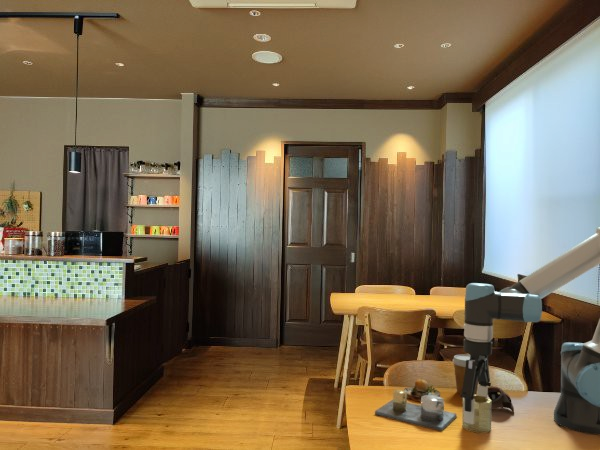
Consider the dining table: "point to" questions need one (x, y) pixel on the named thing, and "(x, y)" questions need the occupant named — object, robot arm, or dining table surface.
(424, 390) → the burger
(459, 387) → the disposable coffee cup
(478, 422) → the sleeve
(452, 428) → the dining table surface
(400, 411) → the plate
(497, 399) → the pottery mug
